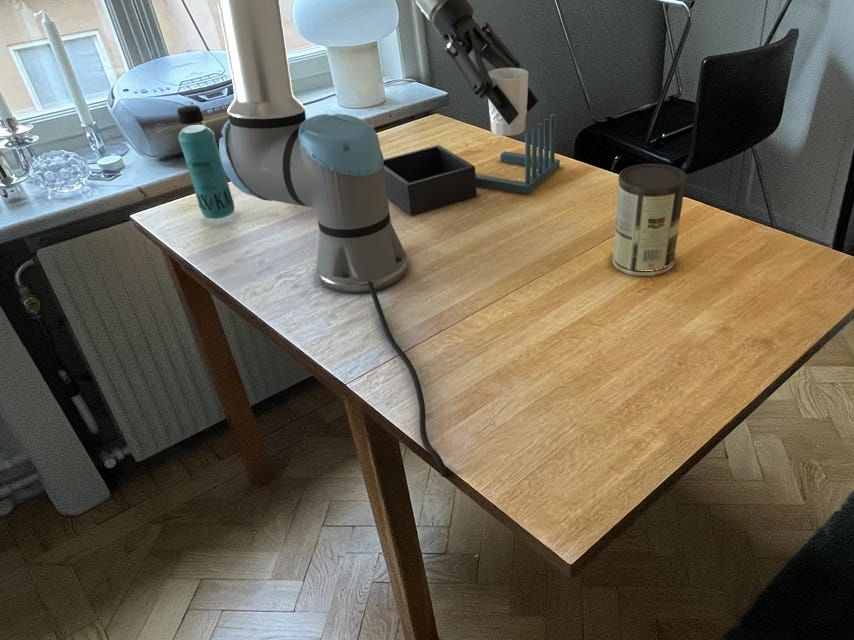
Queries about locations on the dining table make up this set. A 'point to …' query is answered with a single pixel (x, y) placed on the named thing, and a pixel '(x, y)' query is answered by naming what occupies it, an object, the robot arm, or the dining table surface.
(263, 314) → the dining table surface
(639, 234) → the coffee can
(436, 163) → the black square tray
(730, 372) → the dining table surface
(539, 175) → the drying rack
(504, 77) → the white cup
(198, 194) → the beverage bottle
